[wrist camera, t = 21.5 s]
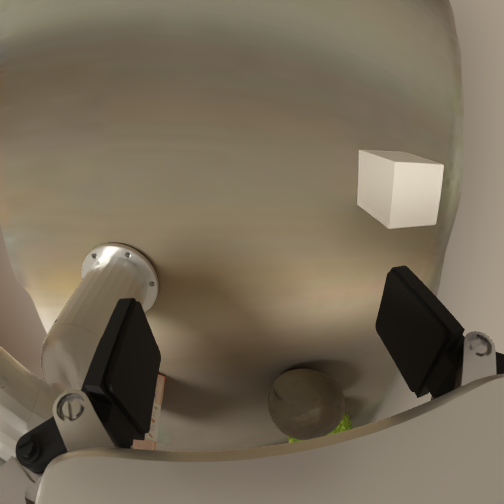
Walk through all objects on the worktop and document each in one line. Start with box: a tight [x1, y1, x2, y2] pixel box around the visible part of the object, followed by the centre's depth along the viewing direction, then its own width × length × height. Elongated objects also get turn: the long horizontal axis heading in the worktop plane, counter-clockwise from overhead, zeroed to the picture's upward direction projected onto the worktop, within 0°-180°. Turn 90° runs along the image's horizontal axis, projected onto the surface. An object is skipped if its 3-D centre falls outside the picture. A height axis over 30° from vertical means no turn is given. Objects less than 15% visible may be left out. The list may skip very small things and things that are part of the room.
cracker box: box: [132, 374, 166, 450], centre depth 41 cm, size 14×6×21 cm, turn 145°
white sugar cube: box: [357, 150, 444, 229], centre depth 31 cm, size 8×8×9 cm
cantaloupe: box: [268, 369, 346, 440], centre depth 46 cm, size 14×14×15 cm
